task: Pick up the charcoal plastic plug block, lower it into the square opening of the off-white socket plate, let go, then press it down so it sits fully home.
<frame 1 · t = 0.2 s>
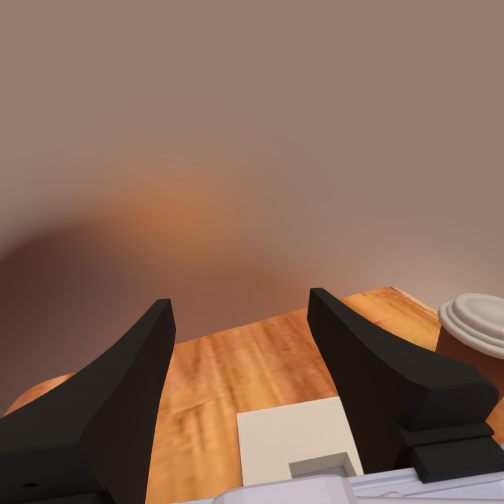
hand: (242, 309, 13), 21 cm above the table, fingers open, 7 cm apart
coffee cup: (459, 389, 31), on the table
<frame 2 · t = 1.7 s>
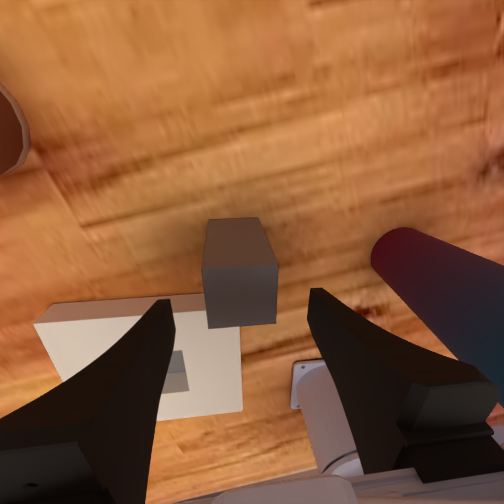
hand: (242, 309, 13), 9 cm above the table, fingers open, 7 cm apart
plug: (234, 241, 21), on the table
cup: (395, 251, 23), on the table
socket plate: (161, 353, 25), on the table
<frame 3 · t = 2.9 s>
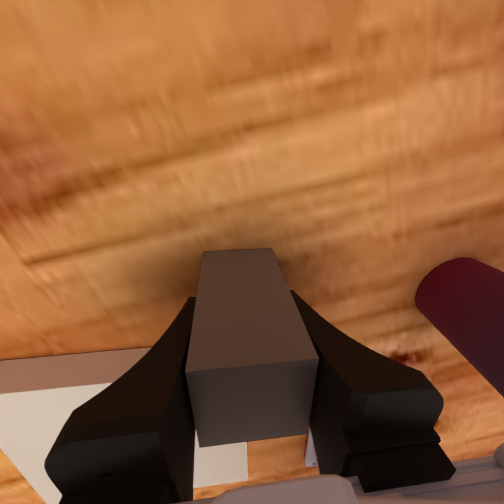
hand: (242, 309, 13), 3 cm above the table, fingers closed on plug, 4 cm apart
plug: (239, 278, 15), on the table, touching gripper
cup: (447, 287, 18), on the table
socket plate: (144, 412, 20), on the table
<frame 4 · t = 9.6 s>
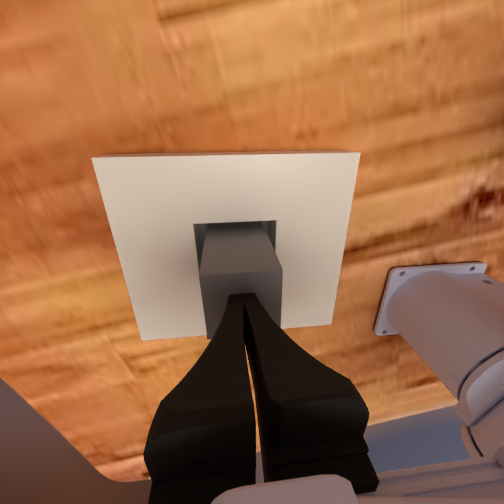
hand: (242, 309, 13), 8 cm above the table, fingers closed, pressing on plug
plug: (235, 243, 20), resting on socket plate, touching gripper
socket plate: (235, 244, 20), on the table
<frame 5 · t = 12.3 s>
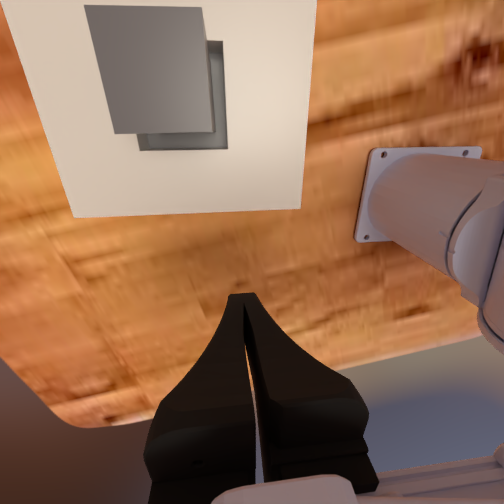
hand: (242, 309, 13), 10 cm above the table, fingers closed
plug: (183, 99, 17), resting on socket plate
socket plate: (184, 103, 17), on the table
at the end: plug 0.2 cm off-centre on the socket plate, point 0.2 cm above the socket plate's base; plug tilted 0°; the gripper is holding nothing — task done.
